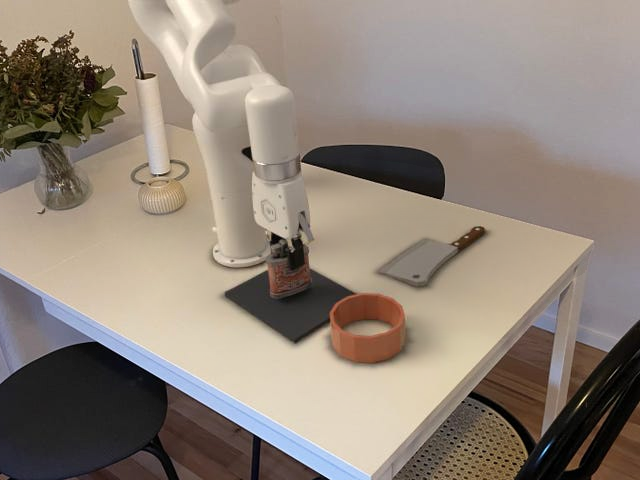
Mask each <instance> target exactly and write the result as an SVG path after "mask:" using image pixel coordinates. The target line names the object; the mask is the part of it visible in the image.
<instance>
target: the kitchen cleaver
mask: <svg viewBox="0 0 640 480" xmlns="http://www.w3.org/2000/svg"><path fill="white" fill-rule="evenodd" d="M485 232H486V228H485V227H484V226H482V225H480V226H479V225H477V226H473V227H471V229H470V231H469V232H467V233H464V234H463V235H461V237H460V238H459V239H457V240H455V241H452V242H451V243H444V242H439V241H434V240H429V239H423V240H422V241H420V242H418V243H417V244H415V245H413V246H412V247H411V248H409V249H407V250H406V251H404V252H403V253H401V254H400V255H398V256H397V257H396V258H394V259H393V260H391V262H389V263H388V264H386V265H385V266H384V267H382V269H380V270H379V273H380V274H382V275H386V276H388V277H391V278H394V279H396V280H399V281H401V282H403V283H407V284H408V285H411V286H414V287H417V288H419V287H424V286H427V284H428V282H429V281H430V278H431V277H432V276H433V274H435V272H436V271H437V270H438V269H439V268H440V267H441V266H442V265H444V263H446V262H447V261H448V260H449V259H451V258H452V257H453V256H455V255H457V254H458V253H459V252H461V250H463V249H464V248H466V247H467V246H468V245H470V244H471V243H473V242H474V241H475V240H477V239H479V238H480V237H481V236H483V235H484V234H485Z"/></svg>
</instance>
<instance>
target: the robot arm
mask: <svg viewBox="0 0 640 480" xmlns="http://www.w3.org/2000/svg"><path fill="white" fill-rule="evenodd" d="M240 1H241V0H127V3H128V6H129V9H130V11H131V14H132V16H133V18H134V20H135V21H136V22H135V23H136V24H137V26H138V27H139V28H140V30H141V31H142V33H143V34H144V35H145V37H146V38H147V39H148V40H149V41H150V42H151V43H152V44H153V45H154V47H156V49H157V50H158V51H159V53H161V55H162V57H163V59H164V61H165V63H166V66H167V67H168V69H169V71H170V73H171V75H172V77H173V78H174V81H175V82H176V84H177V86H178V88H179V91H180V92H181V94H182V95H183V97H184V98H185V99H186V101H187V102H188V103H189V104H190V105H191V106H192V108H193V110H194V113H193V115H192V120H191V124H192V129H193V134H194V137H195V139H196V142H197V144H198V147H199V150H200V154H201V156H202V161H203V164H204V168H205V173H206V178H207V184H208V188H209V193H210V200H211V205H212V212H213V217H214V222H215V225H214V226H213V227H212V228H211V229H212V230H211V231H212V232H213V233H214V234H216V236H217V243H215V245H214V246H213V248H212V254H213V258H214V260H215V261H216V262H217V263H218V264H220V265H222V266H225V267H229V268H247V267H248V268H249V267H252V266H256V265H259V264H262V263H264V262H266V257H267V256H268V255H270V254H272V252H271V246H272V245H275V244H278V243H279V241H280V240H282V239H285V240H286V241H287V243H288V247H289V250H287V257H288V266H289V270H291V271H294V270H295V269H297V268H299V267H301V266H303V265H304V264H305V258H304V248H303V247H304V246H305V245H307V244H309V243H311V242H314V240H315V237H314V235H313V233H312V230H311V212H310V205H309V200H308V199H309V198H308V193H307V189H306V184H305V181H304V177H303V175H302V163H301V154H300V143H299V133H298V122H297V113H296V102H295V96H294V93H293V92H292V90H291V89H290V88H289V87H287V86H283V85H281V83H280V82H279V81H278V79H277V78H276V77H275V76H274V75H273V74H271V73H268V71H267V69H266V67H265V65H264V64H263V62H262V60H261V59H260V58H259V56H258V54H257V53H256V51H254V50H253V49H252V48H251V47H249V46H248V45H244V44H232V43H233V41H234V39H235V36H236V33H237V26H236V22H235V20H234V18H233V17H232V15H231V14H230V12H229V10H228V9H227V7H226V6H228V5H233V4H237V3H238V2H240ZM231 44H232V45H231ZM249 146H251V152H252V159H253V162H252V161H251V160H250V159H249V158H247V157H246V156H245V155H243V154H242V152H241V151H242V150H243V149H244V148H247V147H249ZM294 237H297V238H298V239H297V240H296V241H295V242H294V240H293V238H294Z"/></svg>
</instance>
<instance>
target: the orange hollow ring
mask: <svg viewBox="0 0 640 480" xmlns="http://www.w3.org/2000/svg"><path fill="white" fill-rule="evenodd" d="M361 320H379V321H382V322H385V323H387V324H390V325H392V326H393V327H392V328H390V329H389V330H387V331H384V332H381V333H377V334H373V335H367V334H366V335H365V334H362V335H361V334H354V333H351V332H349V331H346V330H344V329H342V328H343V327H345V326H347V325H348V324H350V323H353V322H357V321H361ZM329 324H330V337H331V344H332V345H331V346H332V349H334V350H335V351H336V352H337V354H338V355H340V357H342V358H344V359H347V360H349V361H352V362H354V363H365V364H366V363H367V364H375V363H378V362H382V361H385V360H390V359H391V358H392V357H394V356H395V355H397V354H398V353H400V352H401V351H402V349H403V347H404V344H405V342H406V314H405V310H404V307H403V305H402V304H401V303H399V301H397V300H396V299H395V298H393V297H390V296H388V295H385V294H381V293H376V292H375V293H374V292H360V293H356V295H352V296H348V297H346V298H344V299H342V300H341V301H339V302H337V303H336V304H335V305H334V307H333V308H332V310H331V312H330V323H329Z"/></svg>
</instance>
